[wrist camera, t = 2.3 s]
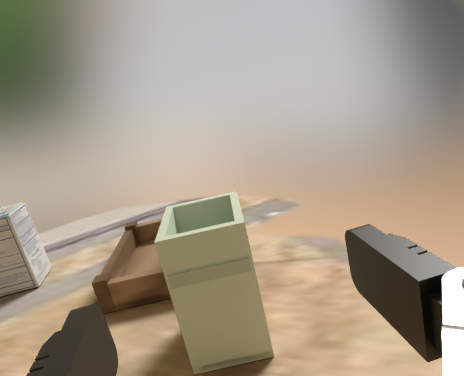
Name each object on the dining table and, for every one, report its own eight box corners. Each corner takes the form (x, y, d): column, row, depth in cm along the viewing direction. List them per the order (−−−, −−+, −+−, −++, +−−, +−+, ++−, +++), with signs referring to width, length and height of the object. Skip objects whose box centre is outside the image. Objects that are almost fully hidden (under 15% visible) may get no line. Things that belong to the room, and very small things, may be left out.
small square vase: (193, 376, 22) (153, 243, 20) (197, 314, 28) (166, 206, 26) (274, 358, 22) (244, 223, 20) (260, 299, 28) (236, 190, 26)
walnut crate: (102, 313, 31) (91, 283, 30) (134, 246, 44) (126, 223, 43) (235, 283, 31) (228, 252, 30) (227, 225, 44) (222, 202, 43)
